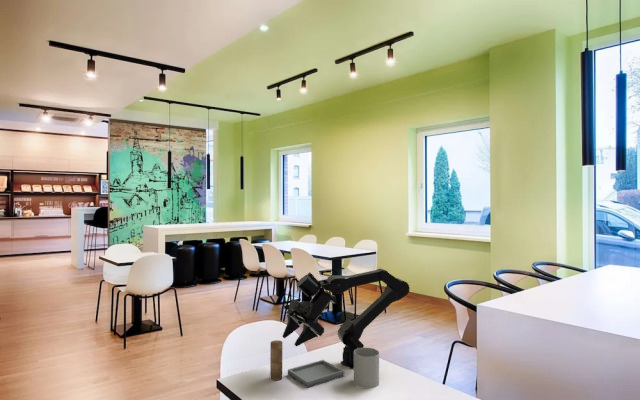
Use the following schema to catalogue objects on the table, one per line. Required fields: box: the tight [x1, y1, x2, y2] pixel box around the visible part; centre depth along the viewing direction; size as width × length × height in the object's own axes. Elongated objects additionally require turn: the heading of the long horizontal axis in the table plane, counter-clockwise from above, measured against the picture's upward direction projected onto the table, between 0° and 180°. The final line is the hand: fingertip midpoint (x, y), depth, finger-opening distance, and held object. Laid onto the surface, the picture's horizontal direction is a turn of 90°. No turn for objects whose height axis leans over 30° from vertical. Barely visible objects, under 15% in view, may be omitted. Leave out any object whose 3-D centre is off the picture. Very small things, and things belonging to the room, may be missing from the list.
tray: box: [287, 359, 345, 389], centre depth 138 cm, size 15×12×2 cm
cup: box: [353, 347, 380, 389], centre depth 133 cm, size 8×8×10 cm
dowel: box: [269, 339, 283, 382], centre depth 135 cm, size 4×4×12 cm
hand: (289, 341), depth 138 cm, fingers open, 9 cm apart
